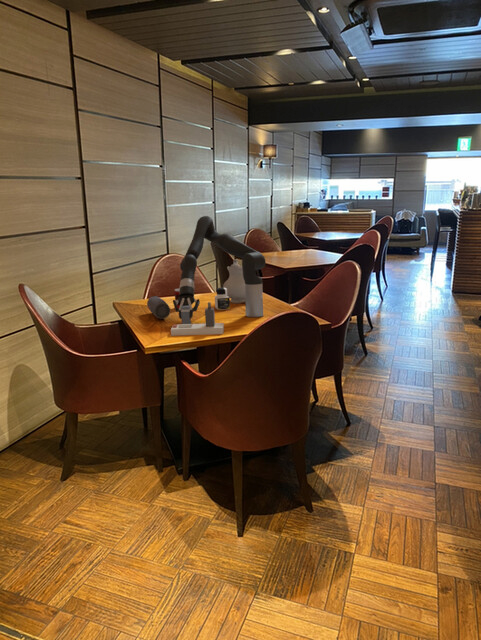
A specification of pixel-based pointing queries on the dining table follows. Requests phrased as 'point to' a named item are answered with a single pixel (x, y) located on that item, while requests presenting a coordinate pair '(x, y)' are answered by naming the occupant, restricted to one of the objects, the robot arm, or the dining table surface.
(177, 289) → the canned food
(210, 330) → the strip
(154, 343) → the dining table surface
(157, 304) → the bluetooth speaker
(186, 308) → the plug
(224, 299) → the medicine bottle
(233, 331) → the dining table surface
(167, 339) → the dining table surface
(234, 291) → the ceramic pitcher
